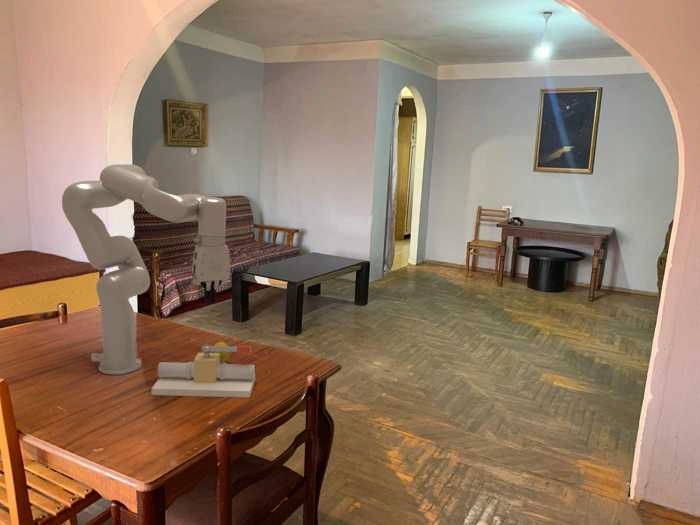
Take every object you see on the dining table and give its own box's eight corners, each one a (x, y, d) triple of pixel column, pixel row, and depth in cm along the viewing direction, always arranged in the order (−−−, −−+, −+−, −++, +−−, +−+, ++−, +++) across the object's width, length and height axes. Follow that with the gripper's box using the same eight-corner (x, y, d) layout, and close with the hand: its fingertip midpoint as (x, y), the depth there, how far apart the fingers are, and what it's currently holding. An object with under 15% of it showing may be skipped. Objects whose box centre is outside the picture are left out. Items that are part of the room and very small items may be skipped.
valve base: (151, 395, 154) (150, 360, 152) (164, 377, 166) (163, 345, 164) (249, 397, 156) (249, 363, 153) (255, 380, 167) (255, 348, 165)
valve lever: (200, 353, 159) (200, 347, 159) (202, 349, 162) (202, 343, 162) (250, 354, 160) (250, 348, 160) (251, 350, 163) (251, 344, 163)
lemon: (225, 368, 175) (225, 345, 174) (209, 366, 176) (209, 343, 175) (232, 362, 181) (232, 339, 179) (216, 360, 182) (216, 337, 180)
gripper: (193, 245, 146) (191, 309, 150) (241, 241, 156) (238, 302, 160) (181, 239, 151) (179, 302, 155) (228, 237, 161) (226, 295, 165)
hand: (209, 302), depth 157 cm, fingers closed
